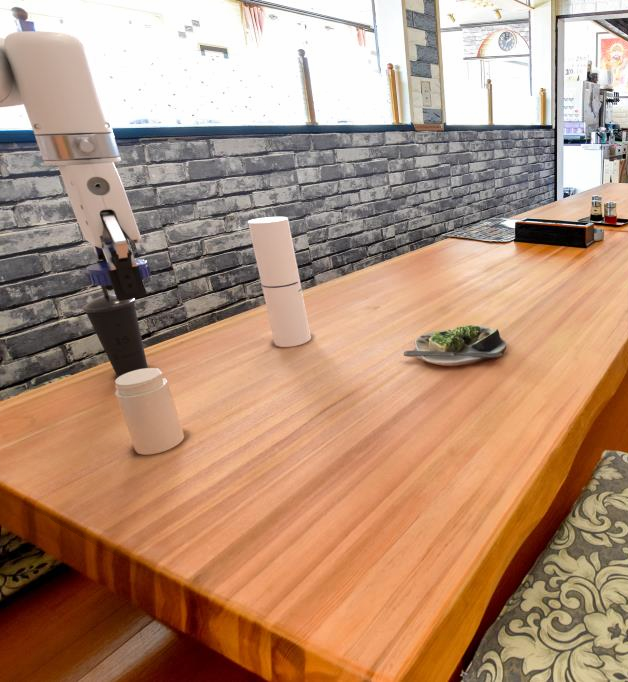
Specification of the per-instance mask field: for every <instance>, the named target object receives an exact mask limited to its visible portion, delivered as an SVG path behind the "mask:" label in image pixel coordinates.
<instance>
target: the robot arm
mask: <svg viewBox="0 0 628 682" xmlns="http://www.w3.org/2000/svg"><path fill="white" fill-rule="evenodd" d="M15 106H24V109H25V111H26V115H27V117H28V120H29V123H30V125H31V129H32V131H33V134H34V137H35V141H36V143H37V146H38V149H39V152H40V155H41V157H42V160H43V163H44V166H57V167H58V170H59V173H60V176H61V180H62V183H63V185H64V188H65V192H66V194H67V197H68V200H69V202H70V206H71V208H72V211H73V213H74V216H75V219H76V222H77V223H78V226H79V228H80V231H81V233H82V235H83V238H84V239H85V240H86V242H88V243H89V244H90V245H92V247H93V251H94V254H95V258H96V260H97V261H96V264H97V263H101V262H107V263H108V265H109V268H110V270H107V271H108V274H109V277H110V280H111V283H112V285H107V286H105V288H106V289H107V291H113V292H114V295H116V298H117V299H118V300H119V301H124V300H129V299H134V298H135V299H138V298H143V297H146V296H147V290H146V286H145V284H144V280H142V277H141V273H140V270H139V267H138V265H137V263H136V260H135V259H136V258H135V255H134V253H133V251H132V248H131V246H130V242H131V243H134V244H139V243H141V241H142V236H141V233H140V231H139V230H140V229H139V227H138V224H137V222H136V221H137V220H136V219H135V215H134V213H133V210H132V206H131V204H130V201H129V197H128V195H127V192H126V189H125V186H124V183H123V182H122V179H121V177H120V174H119V172H118V169H117V168H116V165H115V163H118V162H119V163H120V162H122V157H121V154H120V151H119V147H118V144H117V141H116V137H115V134H114V131H113V128H112V125H111V121H110V117H109V114H108V110H107V107H106V102H105V100H104V96H103V93H102V90H101V86H100V82H99V80H98V77H97V73H96V69H95V66H94V63H93V60H92V56H91V53H90V50H89V49H88V46H87V45H86V43H84V42H83V41H82V40H81V39H79V38H78V37H76V36H74V35H70V34H66V33H61V32H52V31H39V30H38V31H37V30H34V31H33V30H32V31H31V30H30V31H28V30H26V31H15V32H12V33H9V34H8V35H6V36H5V38H1V37H0V108H6V107H7V108H8V107H15ZM129 241H130V242H129Z"/></svg>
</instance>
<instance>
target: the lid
mask: <svg viewBox="0 0 628 682" xmlns="http://www.w3.org/2000/svg"><path fill="white" fill-rule="evenodd" d="M135 260H136V263H137V265H138V267H139V270H140V273H141V277H142V280H143V281H144V280H146V279H149V278H150V277H151V275H152V272H151V270H150V266H149V265H148V261H147V260H146V259H142V258H135ZM85 270H86V276H87V279H88V283H90V284H91V285H93V286H100V287H101V286H107V285H112V283H111V280H110V277H109V274H108V271H107V270H110V268H109V265H108V263H107V262H101V263H97V262H96V263H93V264H90V265H88V266H86V267H85Z"/></svg>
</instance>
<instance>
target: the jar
mask: <svg viewBox="0 0 628 682" xmlns="http://www.w3.org/2000/svg"><path fill="white" fill-rule="evenodd" d="M114 383H115V385H114V386H115V389H116V390H115V392H114V395H115V396H116V400H117V403H118V406H119V409H120V412H121V415H122V417H123V419H124V423H125V426H126V429H127V431H128V433H129V436H130V439H131V442H132V446H133V448H134V451H135V453H137V454H139V455H142V456H143V455H144V456H145V455H146V456H147V455H156V454H160V453H163V452H166V451H169V450H171V449H173V448H175V447H176V446H178V445H179V444H180V443H181V442H183V441H184V439H185V433H184V429H183V427H182V423H181V420H180V418H179V414H178V411H177V408H176V405H175V401H174V398H173V394H172V392H171V389H170V385H169V382H168V380H167V378H165V377H163V372H162V371H161V370H160V369H159V368H157V367H148V368H144V369H139V370H134V371H131V372H128V373H126V374H123V375H121V376H120V377H117V378H116V379H115V380H114Z"/></svg>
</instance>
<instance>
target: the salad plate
mask: <svg viewBox="0 0 628 682" xmlns="http://www.w3.org/2000/svg"><path fill="white" fill-rule="evenodd" d="M414 346H415V350H405V351H404V352H403V356H404V357H409V358H415V359H419V360H421V361H423V362H426V363H429V364H433V365H438V366H442V367H443V366H444V367H459V366H460V367H461V366H467V365H475V364H482V363H483V364H484V363H487V362H492V361H495V360H497V359H499V358H501V357H502V356H504V352H505V351H506V349H507V343H506V342H505V340H504V339H503V338H502V337H501V335H500V331H499V329H498V328H496V329H493V328H491V327H489V326H486V325H485V326H484V325H477V324H476V325H471V324H470V325H469V324H468V325H462V326H460V325H459V326H456V327H455V328H451V329H446V330H437V331H430V332H427V333H424V334H421V335H419V337H417V338H416V339H415V340H414Z"/></svg>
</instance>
